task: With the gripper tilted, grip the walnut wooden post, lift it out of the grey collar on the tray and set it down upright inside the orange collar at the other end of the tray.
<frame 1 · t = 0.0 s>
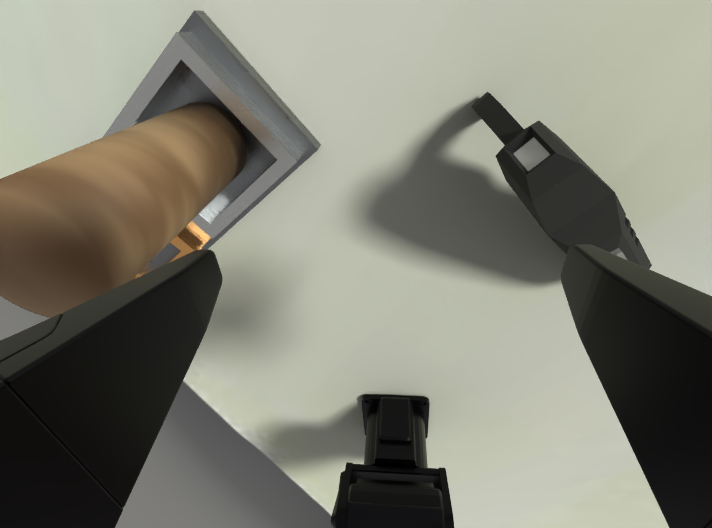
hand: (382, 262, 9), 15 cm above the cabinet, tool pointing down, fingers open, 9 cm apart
post: (208, 144, 22), point 1 cm above the cabinet, touching tray
tray: (172, 187, 25), on the cabinet
gun: (550, 187, 23), on the cabinet
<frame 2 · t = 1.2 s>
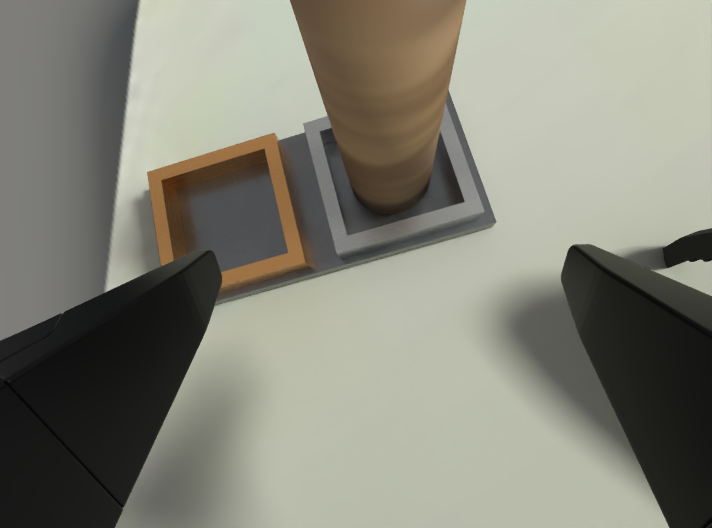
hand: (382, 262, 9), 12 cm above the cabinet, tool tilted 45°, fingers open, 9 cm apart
post: (389, 176, 22), point 1 cm above the cabinet, touching tray
tray: (314, 205, 23), on the cabinet
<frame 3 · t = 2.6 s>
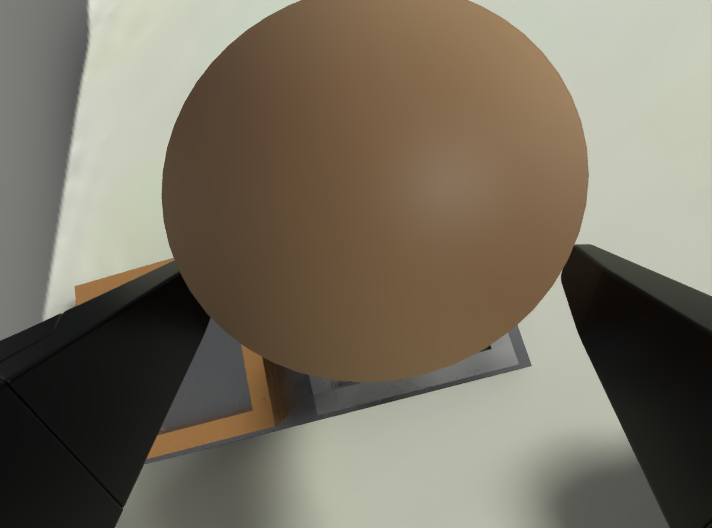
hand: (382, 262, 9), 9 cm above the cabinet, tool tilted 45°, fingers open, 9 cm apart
post: (389, 295, 17), point 1 cm above the cabinet, touching tray
tray: (292, 324, 18), on the cabinet
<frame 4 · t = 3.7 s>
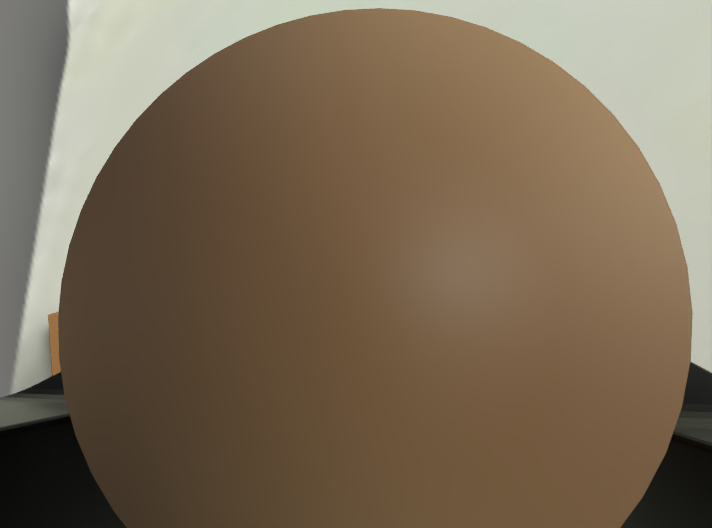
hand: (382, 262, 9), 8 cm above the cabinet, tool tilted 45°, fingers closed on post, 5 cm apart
post: (389, 324, 15), point 1 cm above the cabinet, touching gripper, tray
tray: (284, 353, 17), on the cabinet
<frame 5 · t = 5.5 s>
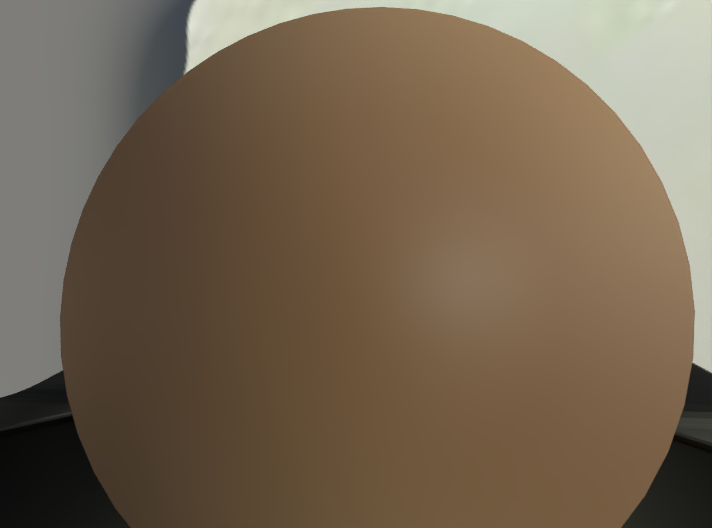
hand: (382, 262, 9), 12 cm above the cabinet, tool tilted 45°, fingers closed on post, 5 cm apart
post: (389, 324, 15), point 5 cm above the cabinet, touching gripper
when the fingers open (8 cm above the cabinet, at t = 7.4 s): post stays where it is, resting on tray.
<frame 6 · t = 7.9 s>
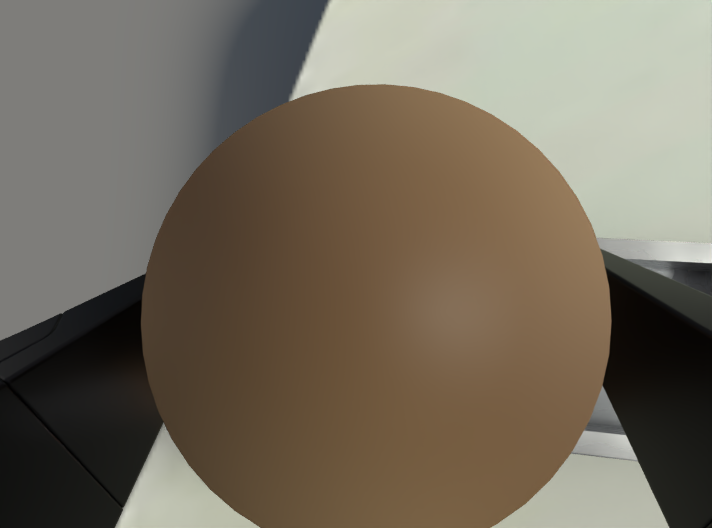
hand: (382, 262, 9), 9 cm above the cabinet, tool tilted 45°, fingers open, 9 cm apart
post: (389, 326, 16), point 1 cm above the cabinet, touching tray
tray: (498, 334, 17), on the cabinet
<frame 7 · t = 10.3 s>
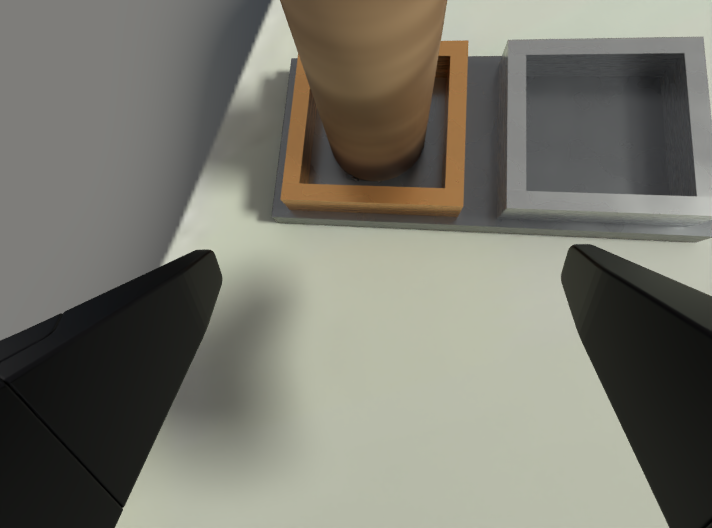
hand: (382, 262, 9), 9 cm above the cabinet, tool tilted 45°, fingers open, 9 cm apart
post: (377, 136, 18), point 1 cm above the cabinet, touching tray
tray: (474, 147, 19), on the cabinet
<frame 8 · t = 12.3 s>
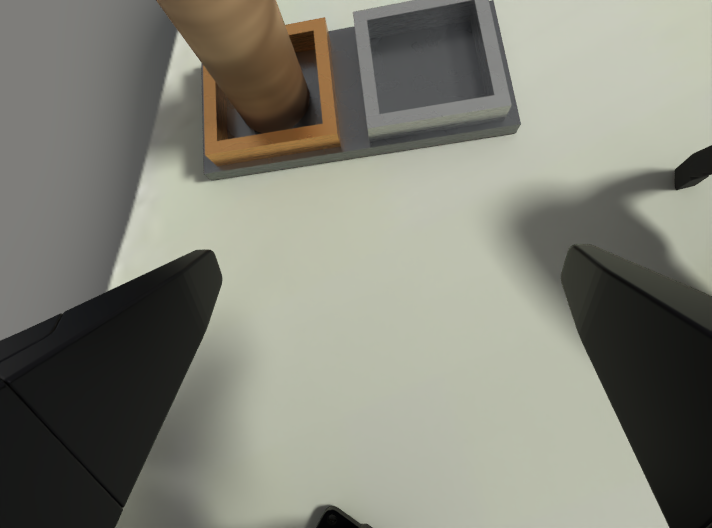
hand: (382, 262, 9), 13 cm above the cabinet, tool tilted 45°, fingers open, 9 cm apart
post: (274, 100, 24), point 1 cm above the cabinet, touching tray
tray: (350, 96, 25), on the cabinet
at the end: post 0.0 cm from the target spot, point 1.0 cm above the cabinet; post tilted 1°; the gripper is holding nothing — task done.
